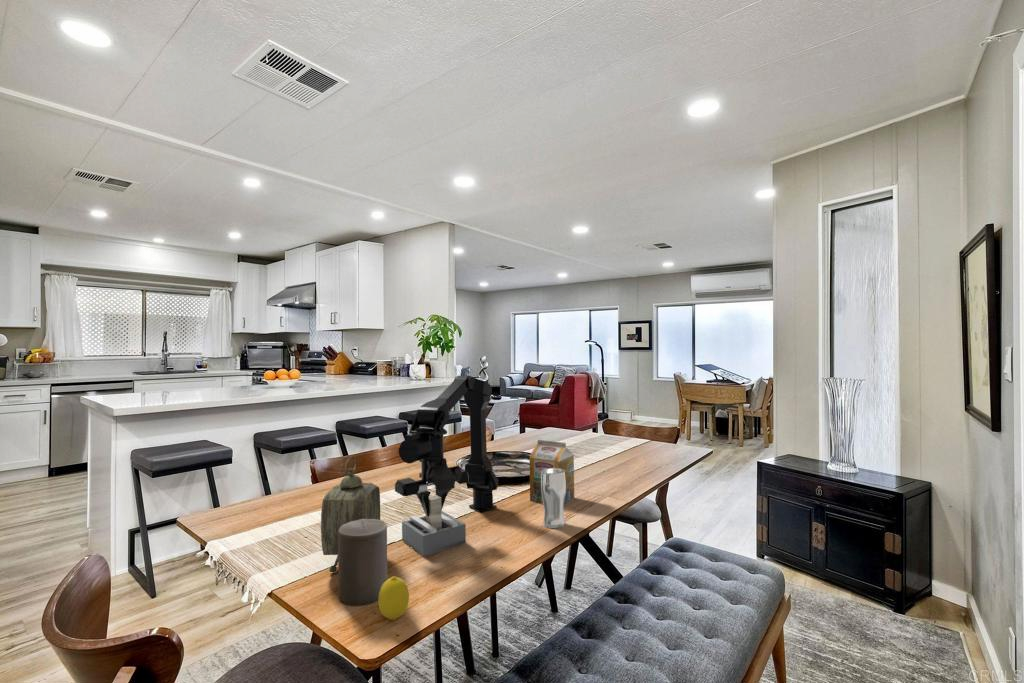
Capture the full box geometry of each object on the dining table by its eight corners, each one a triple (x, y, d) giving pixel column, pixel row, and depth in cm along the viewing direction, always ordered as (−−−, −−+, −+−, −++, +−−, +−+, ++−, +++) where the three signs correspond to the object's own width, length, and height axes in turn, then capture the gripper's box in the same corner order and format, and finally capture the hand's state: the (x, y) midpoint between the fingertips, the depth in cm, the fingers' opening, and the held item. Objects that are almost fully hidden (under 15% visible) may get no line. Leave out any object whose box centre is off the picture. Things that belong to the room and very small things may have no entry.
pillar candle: (341, 611, 90) (341, 533, 90) (335, 587, 99) (335, 516, 99) (392, 598, 95) (392, 524, 95) (382, 577, 103) (382, 509, 103)
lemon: (381, 612, 90) (381, 570, 90) (411, 610, 90) (410, 568, 90) (375, 629, 84) (375, 585, 84) (407, 627, 85) (406, 583, 85)
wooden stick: (425, 527, 121) (425, 497, 121) (436, 525, 123) (435, 494, 123) (431, 531, 119) (430, 500, 119) (441, 528, 121) (441, 497, 121)
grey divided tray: (402, 540, 122) (401, 518, 122) (442, 529, 130) (442, 508, 130) (423, 557, 113) (422, 532, 113) (465, 543, 120) (465, 520, 120)
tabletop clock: (346, 549, 118) (345, 449, 118) (382, 548, 118) (380, 449, 118) (321, 577, 103) (320, 464, 104) (362, 577, 103) (360, 464, 103)
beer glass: (565, 529, 128) (564, 474, 128) (540, 528, 129) (539, 473, 129) (567, 520, 135) (566, 468, 135) (543, 518, 136) (542, 467, 136)
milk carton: (530, 501, 152) (529, 442, 152) (546, 492, 160) (545, 436, 160) (558, 507, 146) (557, 446, 146) (574, 497, 154) (573, 439, 154)
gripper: (412, 466, 109) (413, 533, 109) (479, 454, 120) (480, 514, 120) (393, 457, 118) (394, 519, 118) (457, 446, 129) (458, 503, 129)
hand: (433, 514), depth 121 cm, fingers closed on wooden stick, 3 cm apart
